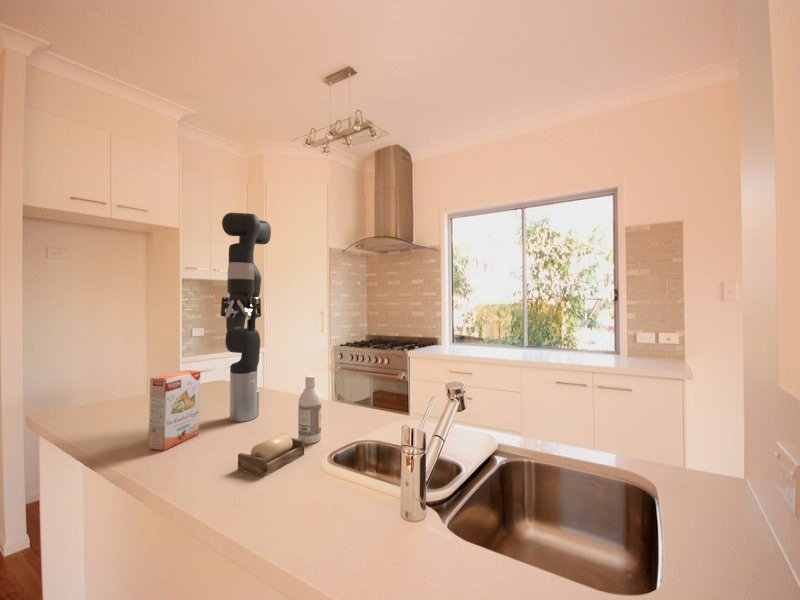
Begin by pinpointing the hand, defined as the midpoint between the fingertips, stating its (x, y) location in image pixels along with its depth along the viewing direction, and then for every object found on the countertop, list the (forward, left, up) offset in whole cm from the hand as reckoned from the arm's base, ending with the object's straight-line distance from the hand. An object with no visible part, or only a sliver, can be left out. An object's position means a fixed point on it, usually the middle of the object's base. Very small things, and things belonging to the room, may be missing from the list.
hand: (240, 331), depth 114 cm
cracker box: (+8, -18, -34) cm, 40 cm away
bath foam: (-11, +18, -34) cm, 40 cm away
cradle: (+6, +19, -34) cm, 39 cm away
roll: (+6, +19, -33) cm, 39 cm away
